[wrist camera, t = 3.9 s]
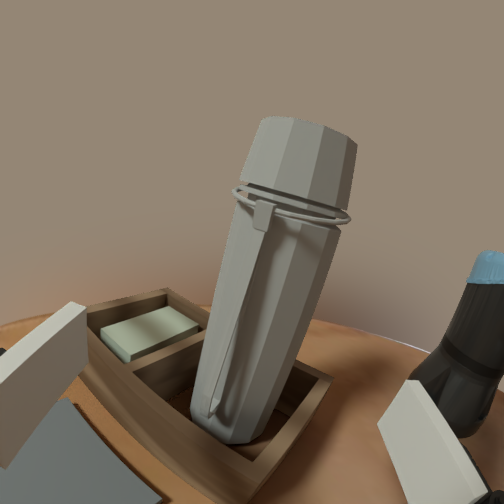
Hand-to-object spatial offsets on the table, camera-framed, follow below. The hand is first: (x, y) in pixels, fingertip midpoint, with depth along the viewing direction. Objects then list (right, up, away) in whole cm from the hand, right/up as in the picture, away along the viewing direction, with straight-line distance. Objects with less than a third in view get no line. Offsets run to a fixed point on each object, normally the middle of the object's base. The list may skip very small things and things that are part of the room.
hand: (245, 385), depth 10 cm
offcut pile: (-11, -8, +18) cm, 22 cm away
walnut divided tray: (-6, -9, +15) cm, 19 cm away
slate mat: (-14, -11, +1) cm, 18 cm away
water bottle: (-3, -11, +13) cm, 17 cm away
